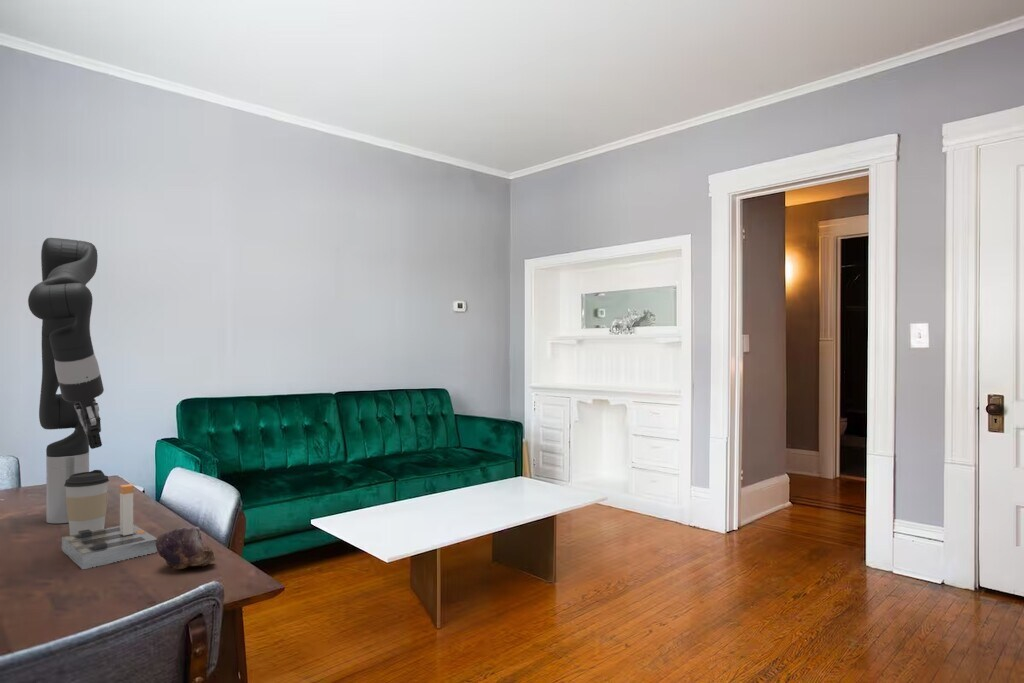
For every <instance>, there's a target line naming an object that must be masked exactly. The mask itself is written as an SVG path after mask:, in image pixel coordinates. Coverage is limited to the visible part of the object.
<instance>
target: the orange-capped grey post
mask: <svg viewBox="0 0 1024 683" xmlns="http://www.w3.org/2000/svg"><path fill="white" fill-rule="evenodd" d="M133 524H134V485H133V484H131V483H128V484H120V485H119V526H120V534H121V535H123V536H124V535H129V534H133Z"/></svg>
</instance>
